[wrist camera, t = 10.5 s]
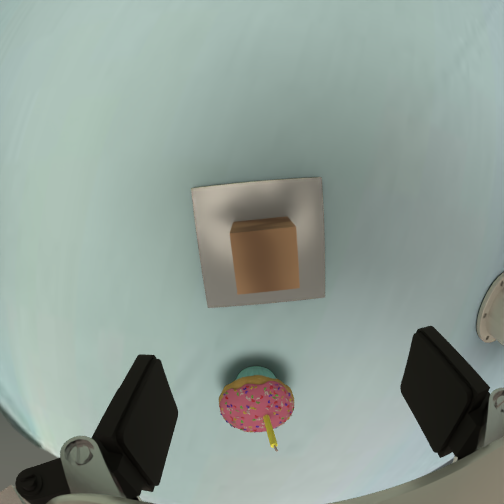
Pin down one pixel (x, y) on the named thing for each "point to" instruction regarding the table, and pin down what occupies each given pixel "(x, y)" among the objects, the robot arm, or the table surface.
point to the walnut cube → (265, 255)
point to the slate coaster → (251, 208)
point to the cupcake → (257, 402)
